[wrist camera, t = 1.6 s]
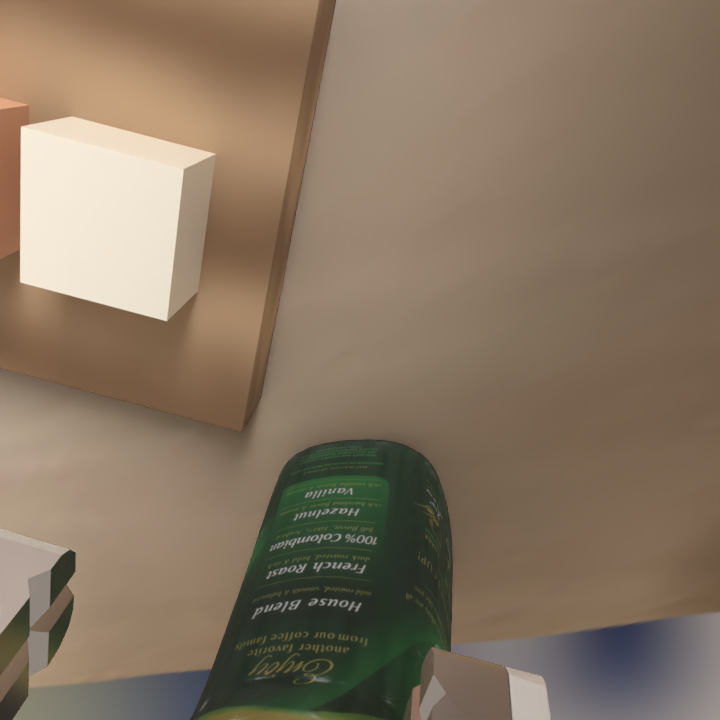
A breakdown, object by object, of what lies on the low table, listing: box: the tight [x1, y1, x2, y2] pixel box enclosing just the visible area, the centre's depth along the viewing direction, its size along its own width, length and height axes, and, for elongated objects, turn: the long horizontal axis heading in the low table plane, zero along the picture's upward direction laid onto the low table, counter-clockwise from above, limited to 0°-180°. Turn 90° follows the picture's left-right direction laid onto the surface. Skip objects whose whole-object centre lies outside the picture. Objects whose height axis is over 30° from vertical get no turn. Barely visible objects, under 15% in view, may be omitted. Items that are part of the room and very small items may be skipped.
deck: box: [0, 0, 336, 432], centre depth 25 cm, size 16×16×3 cm
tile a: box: [20, 116, 216, 321], centre depth 23 cm, size 5×5×3 cm
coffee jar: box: [190, 440, 453, 720], centre depth 24 cm, size 10×8×19 cm
